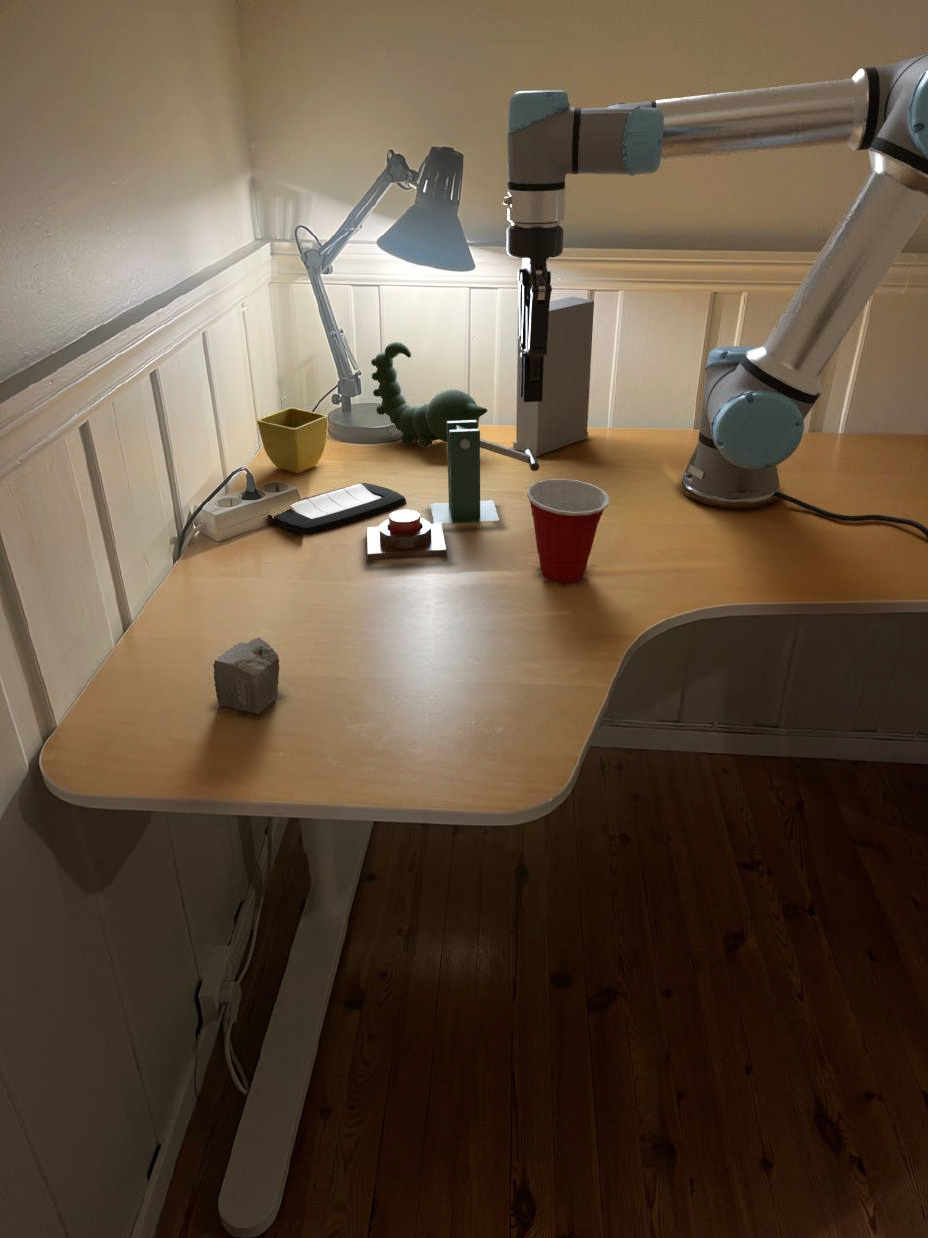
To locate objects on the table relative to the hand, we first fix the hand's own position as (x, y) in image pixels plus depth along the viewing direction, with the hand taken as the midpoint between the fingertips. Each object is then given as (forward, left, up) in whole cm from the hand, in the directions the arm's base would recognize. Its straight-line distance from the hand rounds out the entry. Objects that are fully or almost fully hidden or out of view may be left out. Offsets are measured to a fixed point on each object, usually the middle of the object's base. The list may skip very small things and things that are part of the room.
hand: (531, 398), depth 136 cm
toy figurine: (+34, -12, -19) cm, 41 cm away
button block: (+4, +22, -18) cm, 29 cm away
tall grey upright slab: (+18, -27, -19) cm, 38 cm away
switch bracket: (+6, +8, -18) cm, 21 cm away
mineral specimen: (-12, +59, -19) cm, 63 cm away
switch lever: (+4, +4, -8) cm, 10 cm away
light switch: (+22, +20, -19) cm, 35 cm away
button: (+4, +22, -15) cm, 27 cm away
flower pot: (+43, +12, -19) cm, 49 cm away
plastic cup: (-17, +12, -19) cm, 28 cm away
